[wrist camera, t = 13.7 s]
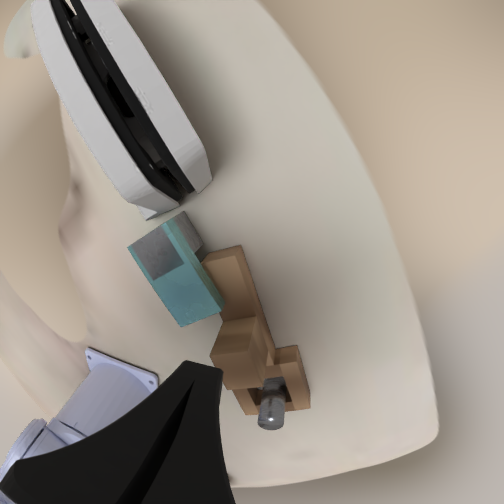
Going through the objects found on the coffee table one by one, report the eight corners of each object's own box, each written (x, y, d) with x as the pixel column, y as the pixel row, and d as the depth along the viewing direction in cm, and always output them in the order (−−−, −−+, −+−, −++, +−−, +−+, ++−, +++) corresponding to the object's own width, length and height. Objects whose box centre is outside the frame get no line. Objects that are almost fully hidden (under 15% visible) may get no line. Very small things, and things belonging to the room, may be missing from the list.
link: (310, 392, 22) (310, 442, 17) (248, 400, 23) (238, 447, 18) (265, 238, 18) (254, 274, 13) (186, 258, 19) (153, 296, 14)
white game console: (61, 54, 14) (2, -7, 5) (111, 20, 15) (74, -57, 5) (153, 224, 18) (102, 248, 9) (214, 185, 18) (223, 167, 9)
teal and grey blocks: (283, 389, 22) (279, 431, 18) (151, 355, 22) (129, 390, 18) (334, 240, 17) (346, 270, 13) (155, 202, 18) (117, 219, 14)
